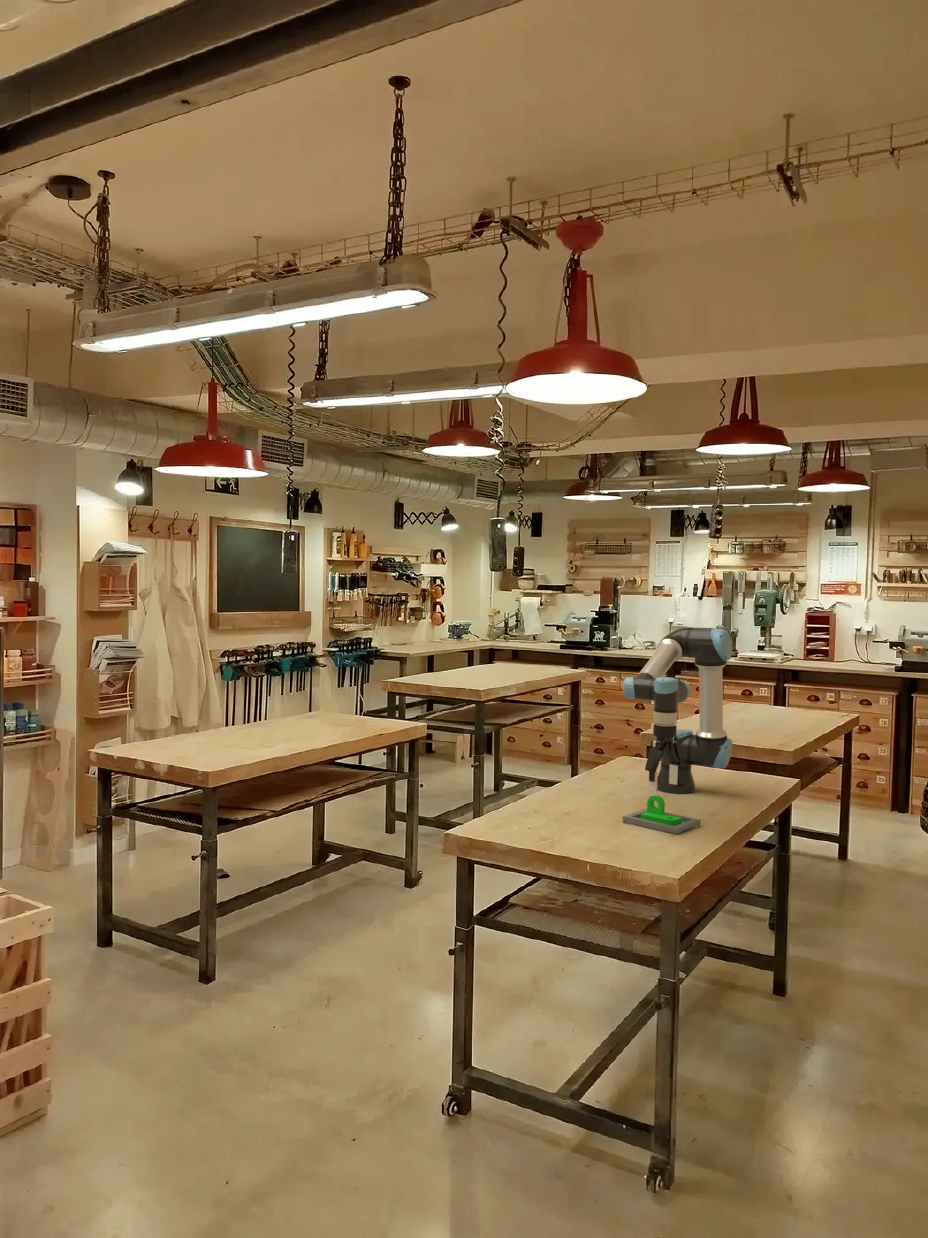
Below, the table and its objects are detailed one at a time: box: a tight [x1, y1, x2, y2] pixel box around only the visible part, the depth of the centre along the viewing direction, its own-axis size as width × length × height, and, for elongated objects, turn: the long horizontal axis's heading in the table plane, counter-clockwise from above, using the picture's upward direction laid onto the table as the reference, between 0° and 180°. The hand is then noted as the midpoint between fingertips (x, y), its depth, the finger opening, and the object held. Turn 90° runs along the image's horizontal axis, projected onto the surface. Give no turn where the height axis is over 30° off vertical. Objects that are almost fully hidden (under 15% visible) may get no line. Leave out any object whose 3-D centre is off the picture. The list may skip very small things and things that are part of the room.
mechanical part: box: [641, 794, 682, 826], centre depth 292 cm, size 12×6×8 cm, turn 48°
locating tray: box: [622, 808, 702, 836], centre depth 292 cm, size 16×20×2 cm
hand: (663, 787), depth 292 cm, fingers open, 13 cm apart
